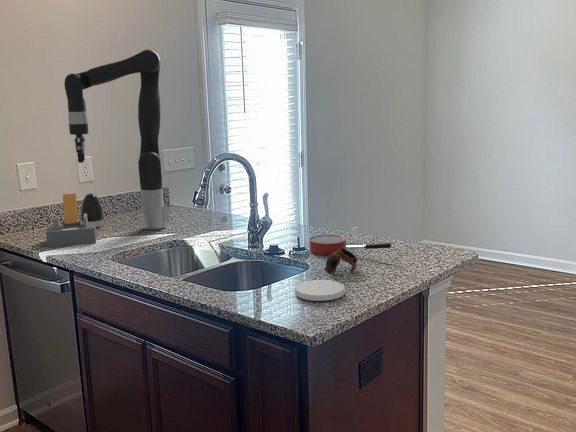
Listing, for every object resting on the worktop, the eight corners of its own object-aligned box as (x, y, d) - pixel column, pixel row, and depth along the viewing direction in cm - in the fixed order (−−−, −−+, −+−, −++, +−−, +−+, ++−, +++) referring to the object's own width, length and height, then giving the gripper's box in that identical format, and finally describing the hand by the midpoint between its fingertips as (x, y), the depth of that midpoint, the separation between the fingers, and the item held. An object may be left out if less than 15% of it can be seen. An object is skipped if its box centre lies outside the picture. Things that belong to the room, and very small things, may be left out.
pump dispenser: (109, 224, 275) (106, 191, 272) (99, 229, 265) (96, 195, 262) (87, 224, 276) (84, 191, 273) (77, 229, 266) (74, 195, 263)
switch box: (96, 235, 253) (94, 212, 251) (95, 242, 241) (93, 218, 239) (51, 239, 249) (48, 215, 247) (47, 247, 236) (44, 222, 234)
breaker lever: (80, 225, 247) (78, 194, 249) (79, 224, 245) (77, 193, 246) (63, 226, 246) (61, 195, 247) (62, 225, 243) (60, 194, 245)
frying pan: (401, 255, 210) (401, 237, 209) (385, 264, 200) (385, 246, 199) (321, 244, 228) (321, 228, 227) (303, 253, 217) (302, 235, 216)
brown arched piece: (330, 266, 201) (343, 245, 199) (352, 283, 197) (365, 261, 195) (313, 266, 191) (326, 244, 189) (335, 284, 186) (349, 261, 185)
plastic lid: (300, 306, 164) (300, 297, 164) (291, 290, 178) (290, 282, 177) (350, 301, 167) (350, 292, 166) (337, 286, 180) (337, 278, 180)
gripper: (86, 123, 248) (90, 162, 251) (88, 121, 261) (91, 159, 264) (67, 123, 246) (70, 163, 249) (70, 122, 259) (73, 160, 262)
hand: (81, 161), depth 257 cm, fingers open, 8 cm apart
